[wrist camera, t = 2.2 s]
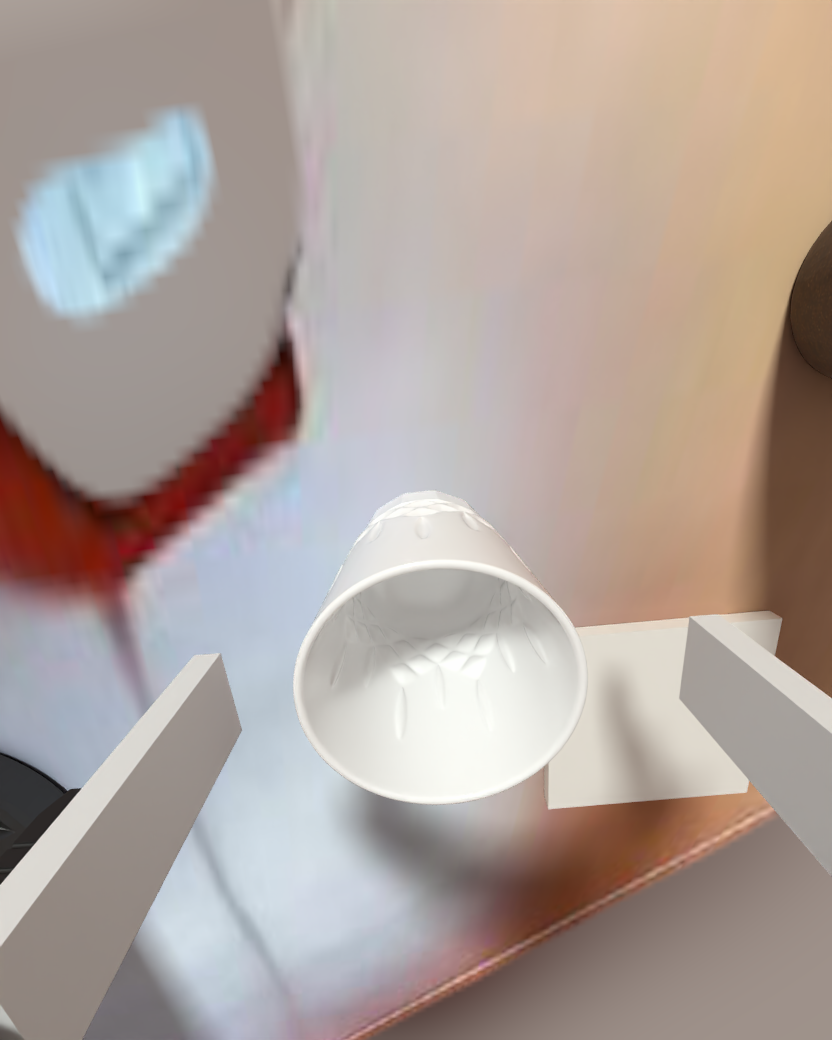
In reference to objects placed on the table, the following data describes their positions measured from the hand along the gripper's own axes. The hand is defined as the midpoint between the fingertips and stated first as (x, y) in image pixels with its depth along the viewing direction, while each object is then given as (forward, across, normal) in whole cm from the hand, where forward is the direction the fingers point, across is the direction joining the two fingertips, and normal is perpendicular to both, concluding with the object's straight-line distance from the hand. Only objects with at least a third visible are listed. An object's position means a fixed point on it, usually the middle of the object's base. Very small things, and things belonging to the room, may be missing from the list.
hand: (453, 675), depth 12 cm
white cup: (+9, -1, 0) cm, 9 cm away
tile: (+9, +11, -11) cm, 18 cm away
